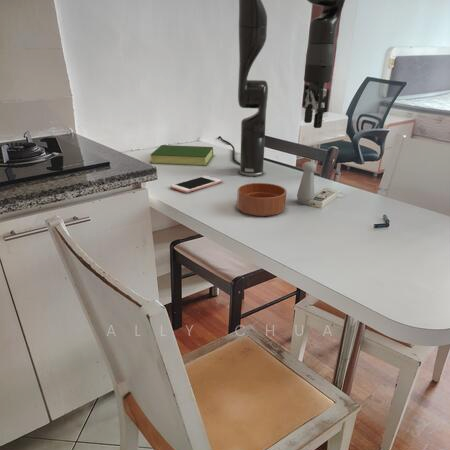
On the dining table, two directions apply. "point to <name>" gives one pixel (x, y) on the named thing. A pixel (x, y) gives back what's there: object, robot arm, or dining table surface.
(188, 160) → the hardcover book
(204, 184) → the cell phone
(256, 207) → the bowl
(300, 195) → the salt shaker
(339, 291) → the dining table surface
